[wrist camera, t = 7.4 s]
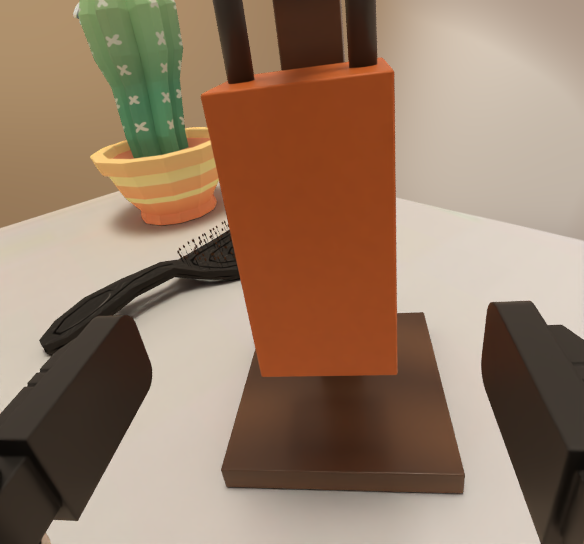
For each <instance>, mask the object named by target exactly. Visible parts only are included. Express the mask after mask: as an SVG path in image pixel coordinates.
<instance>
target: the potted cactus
mask: <svg viewBox="0 0 584 544" xmlns="http://www.w3.org/2000/svg"><path fill="white" fill-rule="evenodd" d="M73 17H76V18H78V19H80V24H81V25H82V28H83V30H84V33H85V36H86V38H87V41H88V44H89V47H90V49H91V52H92V55H93V57H94V60H95V62H96V63H97V65H98V67H99V68H100V70H101V71H102V73H103V75H104V76H105V78H106V79H107V81H108V82H109V84H110V86H111V88H112V91H113V95H114V98H115V101H116V105H117V108H118V112H119V115H120V118H121V122H122V125H123V129H124V132H125V136H126V139H127V140H125V141H122V142H119V143H116V144H113V145H110V146H107V147H104V148H102V149H101V150H99V151H98V152H96V153H95V154H93V155H91V156H90V158H91V159H92V161H93V163H94V164H95V166H96V167H97V169H98V170H99V172H100V173H101V174H102V175H103V176H109V178H110V179H111V180H112V182H113V183H114V184H115V185H116V187H117V188H118V190H119V191H120V192H121V193H122V195H123V196H124V197H125V198H126V199H127V200H128V201H129V202H131V203H132V204H133V205H135V206H136V207H137V208H138V209H140V210H141V216H142V219H143V220H144V221H145V222H146V224H154V225H168V224H176V223H183V222H186V221H189V220H192V219H195V218H199V217H202V216H203V215H205V214H207V213H208V212H210V211H211V210H213V209H214V208H215V206H216V203H217V201H216V199H215V197H214V195H213V193H214V190H215V188H216V186H217V183H218V181H219V178H218V174H217V169H216V164H215V160H214V155H213V151H212V146H211V141H210V137H209V132H208V128H207V127H194V128H185V125H184V116H183V107H182V97H181V88H180V70H181V62H182V61H181V60H182V53H183V46H182V40H181V34H180V28H179V22H178V16H177V10H176V4H175V2H174V0H80V2H79V3H78V4H77V6H76V7H75V10H74V13H73Z"/></svg>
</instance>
